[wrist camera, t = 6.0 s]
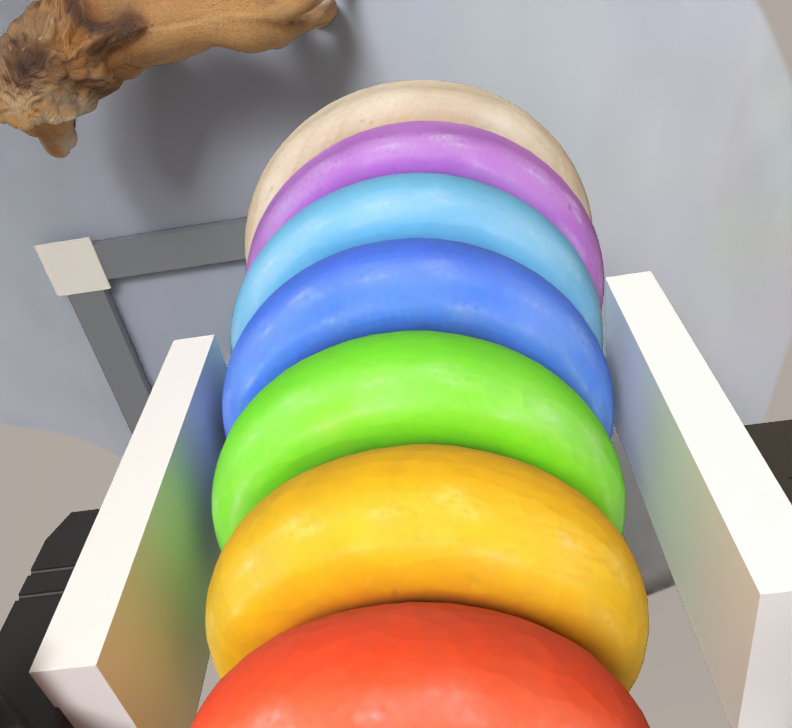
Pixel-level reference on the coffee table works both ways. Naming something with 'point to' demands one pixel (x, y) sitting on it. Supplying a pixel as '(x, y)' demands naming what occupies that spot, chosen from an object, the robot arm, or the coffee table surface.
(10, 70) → the lion figurine
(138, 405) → the gray frame
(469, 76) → the coffee table surface
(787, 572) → the robot arm
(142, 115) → the coffee table surface
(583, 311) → the stacking toy
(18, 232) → the coffee table surface
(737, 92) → the coffee table surface
